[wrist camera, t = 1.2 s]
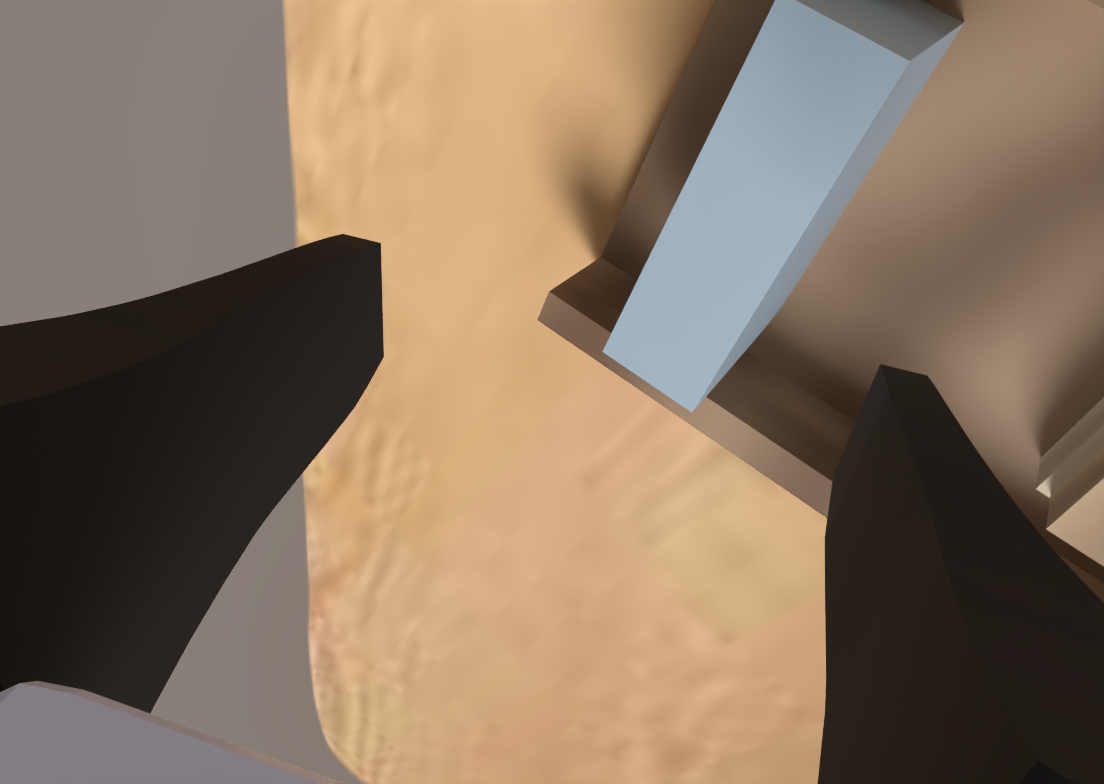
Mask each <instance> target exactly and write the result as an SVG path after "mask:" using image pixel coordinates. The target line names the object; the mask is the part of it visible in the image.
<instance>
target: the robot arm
mask: <svg viewBox="0 0 1104 784" xmlns="http://www.w3.org/2000/svg"><path fill="white" fill-rule="evenodd" d="M383 357H384V351H383V312H382V273H381V243H378V242H374V241H370V240H366V239H361V238H357V237H353V236H349V235H345V234H341V235H337V236H333V237H329V238H325V239H322V240H318V241H315V242H312V243H309V244H306V245H303V246H300V247H297V248H294V249H292V250H289V251H286V252H283V253H280V254H277V255H275V256H272V257H269V258H266V259H263V260H261V261H258V262H255V263H252V264H249V265H247V266H244V267H241V268H238V269H235V270H232V271H229V272H226V273H224V274H221V275H218V276H214V277H211V278H208V279H205V280H202V281H198V282H195V283H192V284H189V285H186V286H183V287H179V288H176V289H173V290H170V291H167V292H163V293H160V294H157V295H153V296H150V297H146V298H142V299H139V300H135V301H131V302H127V303H123V304H119V305H114V306H110V307H106V308H101V309H97V310H92V311H88V312H83V313H78V314H73V315H68V316H63V317H57V318H50V319H44V320H38V321H32V322H25V323H19V324H13V325H7V326H0V784H343V783H341V782H338V781H335V780H332V779H330V778H327V777H324V776H322V775H319V774H316V773H313V772H310V771H308V770H305V769H302V768H299V767H297V766H294V765H291V764H288V763H285V762H283V761H280V760H277V759H274V758H272V757H269V756H266V755H263V754H261V753H257V752H255V751H252V750H249V749H247V748H244V747H241V746H238V745H236V744H233V743H230V742H227V741H224V740H222V739H219V738H216V737H213V736H211V735H208V734H205V733H202V732H199V731H197V730H194V729H191V728H188V727H186V726H183V725H180V724H177V723H175V722H172V721H169V720H166V719H164V718H161V717H158V716H155V715H152V714H150V713H151V711H152V709H153V707H154V705H155V703H156V701H157V699H158V698H159V696H160V694H161V692H162V690H163V688H164V687H165V685H166V683H167V681H168V679H169V678H170V675H171V674H172V672H173V670H174V668H175V666H176V665H177V663H178V661H179V659H180V657H181V655H182V654H183V652H184V650H185V648H186V646H187V645H188V643H189V641H190V639H191V638H192V636H193V634H194V632H195V631H196V629H197V627H198V626H199V624H200V622H201V621H202V619H203V617H204V616H205V614H206V612H207V611H208V609H209V607H210V606H211V604H212V602H213V600H214V599H215V597H216V595H217V594H218V592H219V590H220V588H221V587H222V585H223V584H224V582H225V580H226V579H227V577H228V576H229V574H230V573H231V571H232V569H233V568H234V566H235V564H236V563H237V561H238V560H239V558H240V557H241V555H242V554H243V552H244V550H245V549H246V547H247V546H248V544H249V543H250V541H251V539H252V538H253V536H254V535H255V533H256V532H257V530H258V529H259V528H260V526H261V525H262V524H263V522H264V521H265V519H266V518H267V517H268V515H269V514H270V513H271V511H272V510H273V509H274V507H275V506H276V505H277V504H278V502H279V501H280V500H281V499H282V498H283V496H284V495H285V494H286V493H287V491H288V490H289V489H290V488H291V486H292V485H293V484H294V483H295V481H296V480H297V479H298V478H299V477H300V475H301V474H302V473H303V472H304V470H305V469H306V468H307V467H308V465H309V464H310V463H311V462H312V460H313V459H314V458H315V457H316V456H317V454H318V453H319V452H320V451H321V449H322V448H323V447H324V446H325V444H326V443H327V442H328V441H329V439H330V438H331V437H332V436H333V434H334V433H335V432H336V431H337V429H338V428H339V427H340V425H341V424H342V423H343V422H344V420H345V419H346V418H347V417H348V415H349V414H350V413H351V411H352V410H353V409H354V407H355V406H356V404H357V402H358V401H359V399H360V398H361V396H362V394H363V393H364V391H365V389H366V388H367V386H368V384H369V382H370V381H371V379H372V377H373V375H374V373H375V372H376V370H377V368H378V366H379V364H380V363H381V361H382V359H383ZM825 613H826V702H825V718H824V728H823V737H822V747H821V757H820V767H819V777H818V784H1104V603H1103V602H1102V601H1101V600H1100V599H1099V598H1098V596H1097V595H1096V594H1095V593H1094V592H1093V591H1092V590H1091V589H1090V588H1089V587H1088V586H1087V585H1086V584H1085V583H1084V582H1083V581H1082V580H1081V579H1080V578H1079V577H1078V575H1077V574H1076V573H1075V572H1074V571H1073V570H1072V569H1071V568H1070V567H1069V566H1068V565H1067V564H1066V563H1065V562H1064V561H1063V560H1062V559H1061V557H1060V556H1059V555H1058V554H1057V553H1056V552H1055V551H1054V550H1053V548H1052V547H1051V546H1050V545H1049V544H1048V543H1047V542H1046V540H1045V539H1044V538H1043V537H1042V536H1041V534H1040V533H1039V532H1038V531H1037V529H1036V528H1035V527H1034V526H1033V524H1032V523H1031V522H1030V521H1029V520H1028V518H1027V517H1026V516H1025V515H1024V513H1023V512H1022V511H1021V510H1020V508H1019V507H1018V506H1017V505H1016V503H1015V502H1014V501H1013V500H1012V498H1011V497H1010V496H1009V494H1008V493H1007V492H1006V490H1005V489H1004V488H1003V486H1002V485H1001V484H1000V482H999V481H998V479H997V478H996V477H995V475H994V474H993V473H992V471H991V470H990V468H989V467H988V465H987V464H986V463H985V461H984V460H983V458H982V457H981V455H980V454H979V453H978V451H977V450H976V448H975V447H974V445H973V444H972V442H971V441H970V439H969V438H968V436H967V435H966V433H965V432H964V430H963V429H962V427H961V426H960V424H959V422H958V421H957V419H956V418H955V416H954V415H953V413H952V412H951V410H950V409H949V407H948V405H947V404H946V402H945V401H944V399H943V398H942V396H941V395H940V393H939V391H938V390H937V388H936V387H935V385H934V384H933V382H932V381H931V380H930V378H929V377H928V375H924V374H920V373H915V372H911V371H907V370H903V369H899V368H895V367H891V366H886V365H882V364H880V365H879V368H878V370H877V373H876V375H875V377H874V380H873V382H872V385H871V387H870V389H869V392H868V394H867V397H866V399H865V401H864V404H863V406H862V409H861V411H860V413H859V416H858V418H857V421H856V423H855V425H854V428H853V430H852V433H851V435H850V437H849V440H848V442H847V445H846V447H845V449H844V452H843V454H842V456H841V459H840V461H839V464H838V466H837V468H836V471H835V473H834V476H833V481H832V488H831V495H830V503H829V510H828V518H827V526H826V534H825Z"/></svg>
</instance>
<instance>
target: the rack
mask: <svg viewBox="0 0 1104 784" xmlns="http://www.w3.org/2000/svg"><path fill="white" fill-rule="evenodd" d="M922 1H924V2H926V3H928V4H930V5H932V6H934V7H936V8H938V9H939V10H941V11H943V12H945V13H947V14H949V15H951V16H953V17H955V18H957V19H959V20H961V21H963V22H964V24H963V25H962V27H961V29H960V30H959V32H958V33H957V35H956V36H955V38H954V39H953V41H952V43H951V44H950V46H949V47H948V49H947V50H946V52H945V53H944V55H943V57H942V58H941V60H940V61H939V63H938V64H937V66H936V68H935V69H934V71H933V72H932V74H931V75H930V77H929V78H928V80H927V82H926V83H925V85H924V86H923V88H922V89H921V91H920V92H919V94H918V96H917V97H916V99H915V100H914V102H913V103H912V105H911V106H910V108H909V110H908V111H907V113H906V114H905V116H904V117H903V119H902V120H901V122H900V124H899V125H898V127H897V128H896V130H895V131H894V133H893V134H892V136H891V138H890V139H889V141H888V142H887V144H886V145H885V147H884V149H883V150H882V152H881V153H880V155H879V156H878V158H877V159H876V161H875V163H874V164H873V166H872V167H871V169H870V170H869V172H868V173H867V175H866V177H865V178H864V180H863V181H862V183H861V184H860V186H859V187H858V189H857V191H856V192H855V194H854V195H853V197H852V198H851V200H850V201H849V203H848V205H847V206H846V208H845V209H844V211H843V212H842V214H841V215H840V217H839V219H838V220H837V222H836V223H835V225H834V226H833V228H832V230H831V231H830V233H829V234H828V236H827V237H826V239H825V240H824V242H823V244H822V245H821V247H820V248H819V250H818V251H817V253H816V254H815V256H814V258H813V259H812V261H811V262H810V264H809V265H808V267H807V268H806V270H805V272H804V273H803V275H802V276H801V278H800V279H799V281H798V282H797V284H796V286H795V287H794V289H793V290H792V292H791V293H790V295H789V296H788V298H787V300H786V301H785V303H784V304H783V306H782V307H781V309H780V311H779V312H778V314H777V315H776V316H775V317H774V318H773V319H772V321H771V322H770V323H769V324H768V325H767V326H766V328H765V329H764V330H763V331H762V332H761V333H760V335H759V336H758V337H757V338H756V339H755V340H754V341H753V343H752V344H751V345H750V346H749V347H748V348H747V350H746V351H745V352H744V353H743V354H742V355H741V357H740V358H739V359H738V360H737V361H736V362H735V364H734V365H733V366H732V367H731V368H730V369H729V371H728V372H727V373H726V374H725V375H724V376H723V378H722V379H721V380H720V381H719V382H718V383H717V384H716V386H715V387H714V388H713V389H712V390H711V391H710V393H709V394H708V395H707V396H706V397H705V398H704V400H703V401H702V402H701V403H700V404H699V405H698V407H697V408H696V409H695V410H694V411H693V412H690V411H689V410H687V409H686V408H684V407H683V406H682V405H680V404H679V403H677V402H676V401H674V400H673V399H671V398H670V397H668V396H667V395H665V394H664V393H662V392H661V391H659V390H658V389H656V388H655V387H654V386H652V385H651V384H649V383H648V382H646V381H645V380H643V379H642V378H640V377H639V376H637V375H636V374H634V373H633V372H631V371H630V370H629V369H627V368H626V367H624V366H623V365H621V364H620V363H618V362H617V361H615V360H614V359H612V358H611V357H609V356H608V355H606V354H605V353H603V350H604V348H605V345H606V343H607V341H608V339H609V337H610V335H611V333H612V331H613V329H614V327H615V325H616V323H617V321H618V319H619V317H620V315H621V313H622V311H623V309H624V307H625V305H626V303H627V301H628V299H629V297H630V295H631V293H632V291H633V288H634V286H635V284H636V282H637V280H638V278H639V276H640V274H641V272H642V270H643V268H644V266H645V264H646V262H647V260H648V258H649V256H650V254H651V252H652V250H653V248H654V246H655V244H656V242H657V240H658V238H659V236H660V234H661V232H662V229H663V227H664V225H665V223H666V221H667V219H668V217H669V215H670V213H671V211H672V209H673V207H674V205H675V203H676V201H677V199H678V197H679V195H680V193H681V191H682V189H683V187H684V185H685V183H686V181H687V179H688V177H689V175H690V172H691V170H692V168H693V166H694V164H695V162H696V160H697V158H698V156H699V154H700V152H701V150H702V148H703V146H704V144H705V142H706V140H707V138H708V136H709V134H710V132H711V130H712V128H713V126H714V124H715V122H716V120H717V118H718V115H719V113H720V111H721V109H722V107H723V105H724V103H725V101H726V99H727V97H728V95H729V93H730V91H731V89H732V87H733V85H734V83H735V81H736V79H737V77H738V75H739V73H740V71H741V69H742V67H743V65H744V63H745V61H746V59H747V56H748V54H749V52H750V50H751V48H752V46H753V44H754V42H755V40H756V38H757V36H758V34H759V32H760V30H761V28H762V26H763V24H764V22H765V20H766V18H767V16H768V14H769V12H770V10H771V8H772V6H773V4H774V2H775V0H716V2H715V4H714V6H713V8H712V11H711V13H710V15H709V17H708V19H707V22H706V24H705V26H704V28H703V31H702V33H701V35H700V37H699V40H698V42H697V44H696V46H695V49H694V51H693V53H692V55H691V57H690V60H689V62H688V64H687V66H686V69H685V71H684V73H683V75H682V78H681V80H680V82H679V84H678V86H677V89H676V91H675V93H674V95H673V98H672V100H671V102H670V104H669V107H668V109H667V111H666V113H665V116H664V118H663V120H662V122H661V124H660V127H659V129H658V131H657V133H656V136H655V138H654V140H653V142H652V145H651V147H650V149H649V151H648V153H647V156H646V158H645V160H644V162H643V165H642V167H641V169H640V171H639V174H638V176H637V178H636V180H635V183H634V185H633V187H632V189H631V191H630V194H629V196H628V198H627V200H626V203H625V205H624V207H623V209H622V212H621V214H620V216H619V218H618V221H617V223H616V225H615V227H614V229H613V232H612V234H611V236H610V238H609V241H608V243H607V245H606V247H605V250H604V252H603V254H602V256H601V257H600V258H599V259H597V260H596V261H594V262H593V263H591V264H590V265H588V266H587V267H585V268H584V269H582V270H581V271H579V272H578V273H576V274H575V275H573V276H572V277H570V278H569V279H567V280H566V281H564V282H563V283H561V284H560V285H558V286H557V287H555V288H554V289H552V290H551V291H549V293H548V296H547V298H546V300H545V303H544V305H543V308H542V310H541V313H540V315H539V317H538V321H540V322H541V323H543V324H544V325H545V326H547V327H548V328H550V329H551V330H553V331H554V332H556V333H557V334H559V335H560V336H562V337H563V338H564V339H566V340H567V341H569V342H570V343H572V344H573V345H575V346H576V347H578V348H579V349H581V350H582V351H583V352H585V353H586V354H588V355H589V356H591V357H592V358H594V359H595V360H597V361H598V362H600V363H601V364H603V365H604V366H605V367H607V368H608V369H610V370H611V371H613V372H614V373H616V374H617V375H619V376H620V377H622V378H623V379H624V380H626V381H627V382H629V383H630V384H632V385H633V386H635V387H636V388H638V389H639V390H641V391H642V392H644V393H645V394H646V395H648V396H649V397H651V398H652V399H654V400H655V401H657V402H658V403H660V404H661V405H663V406H664V407H665V408H667V409H668V410H670V411H671V412H673V413H674V414H676V415H677V416H679V417H680V418H682V419H683V420H684V421H686V422H687V423H689V424H690V425H692V426H693V427H695V428H696V429H698V430H699V431H701V432H702V433H704V434H705V435H706V436H708V437H709V438H711V439H712V440H714V441H715V442H717V443H718V444H720V445H721V446H723V447H724V448H725V449H727V450H728V451H730V452H731V453H733V454H734V455H736V456H737V457H739V458H740V459H742V460H743V461H744V462H746V463H747V464H749V465H750V466H752V467H753V468H755V469H756V470H758V471H759V472H761V473H762V474H764V475H765V476H766V477H768V478H769V479H771V480H772V481H774V482H775V483H777V484H778V485H780V486H781V487H783V488H784V489H785V490H787V491H788V492H790V493H791V494H793V495H794V496H796V497H797V498H799V499H800V500H802V501H803V502H804V503H806V504H807V505H809V506H810V507H812V508H813V509H815V510H816V511H818V512H819V513H821V514H822V515H824V516H825V517H826V518H828V510H829V503H830V495H831V488H832V481H833V476H834V473H835V471H836V468H837V466H838V464H839V461H840V459H841V456H842V454H843V452H844V449H845V447H846V445H847V442H848V440H849V437H850V435H851V433H852V430H853V428H854V425H855V423H856V421H857V418H858V416H859V413H860V411H861V409H862V406H863V404H864V401H865V399H866V397H867V394H868V392H869V389H870V387H871V385H872V382H873V380H874V377H875V375H876V373H877V370H878V368H879V365H880V364H882V365H886V366H891V367H895V368H899V369H903V370H907V371H911V372H915V373H920V374H924V375H928V377H929V378H930V380H931V381H932V382H933V384H934V385H935V387H936V388H937V390H938V391H939V393H940V395H941V396H942V398H943V399H944V401H945V402H946V404H947V405H948V407H949V409H950V410H951V412H952V413H953V415H954V416H955V418H956V419H957V421H958V422H959V424H960V426H961V427H962V429H963V430H964V432H965V433H966V435H967V436H968V438H969V439H970V441H971V442H972V444H973V445H974V447H975V448H976V450H977V451H978V453H979V454H980V455H981V457H982V458H983V460H984V461H985V463H986V464H987V465H988V467H989V468H990V470H991V471H992V473H993V474H994V475H995V477H996V478H997V479H998V481H999V482H1000V484H1001V485H1002V486H1003V488H1004V489H1005V490H1006V492H1007V493H1008V494H1009V496H1010V497H1011V498H1012V500H1013V501H1014V502H1015V503H1016V505H1017V506H1018V507H1019V508H1020V510H1021V511H1022V512H1023V513H1024V515H1025V516H1026V517H1027V518H1028V520H1029V521H1030V522H1031V523H1032V524H1033V526H1034V527H1035V528H1036V529H1037V531H1038V532H1039V533H1040V534H1041V536H1042V537H1043V538H1044V539H1045V540H1046V542H1047V543H1048V544H1049V545H1050V546H1051V547H1052V548H1053V550H1054V551H1055V552H1056V553H1057V554H1058V555H1059V556H1060V557H1061V559H1062V560H1063V561H1064V562H1065V563H1066V564H1067V565H1068V566H1069V567H1070V568H1071V569H1072V570H1073V571H1074V572H1075V573H1076V574H1077V575H1078V577H1079V578H1080V579H1081V580H1082V581H1083V582H1084V583H1085V584H1086V585H1087V586H1088V587H1089V588H1090V589H1091V590H1092V591H1093V592H1094V593H1095V594H1096V595H1097V596H1098V598H1099V599H1100V600H1101V601H1102V602H1103V603H1104V566H1102V565H1101V564H1099V563H1098V562H1096V561H1094V560H1093V559H1091V558H1090V557H1088V556H1087V555H1085V554H1084V553H1082V552H1080V551H1079V550H1077V549H1076V548H1074V547H1073V546H1071V545H1070V544H1068V543H1067V542H1065V541H1063V540H1062V539H1060V538H1059V537H1057V536H1056V535H1054V534H1053V533H1051V532H1049V531H1048V530H1046V525H1047V517H1048V510H1049V502H1050V498H1049V497H1048V496H1046V495H1044V494H1043V493H1041V492H1040V491H1038V490H1037V489H1036V484H1037V478H1038V471H1039V465H1040V459H1041V457H1042V456H1043V455H1044V454H1045V453H1046V452H1047V451H1048V450H1049V449H1050V448H1051V447H1052V446H1053V445H1054V444H1055V443H1057V442H1058V441H1059V440H1060V439H1061V438H1062V437H1063V436H1064V435H1065V434H1066V433H1067V432H1068V431H1069V430H1070V429H1071V428H1072V427H1073V426H1074V425H1075V424H1076V423H1077V422H1078V421H1079V420H1080V419H1081V418H1083V417H1084V416H1085V415H1086V414H1087V413H1088V412H1089V411H1090V410H1091V409H1092V408H1093V407H1094V406H1095V405H1096V404H1097V403H1098V402H1099V401H1100V400H1101V399H1102V398H1103V397H1104V0H922Z"/></svg>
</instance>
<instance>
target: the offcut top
mask: <svg viewBox="0 0 1104 784" xmlns="http://www.w3.org/2000/svg"><path fill="white" fill-rule="evenodd" d="M1046 530H1048V531H1049V532H1051V533H1053V534H1054V535H1056V536H1057V537H1059V538H1060V539H1062V540H1063V541H1065V542H1067V543H1068V544H1070V545H1071V546H1073V547H1074V548H1076V549H1077V550H1079V551H1080V552H1082V553H1084V554H1085V555H1087V556H1088V557H1090V558H1091V559H1093V560H1094V561H1096V562H1098V563H1099V564H1101V565H1102V566H1104V445H1103V446H1102V447H1101V448H1100V449H1099V450H1098V451H1097V452H1096V453H1095V454H1094V455H1093V456H1091V457H1090V458H1089V459H1088V460H1087V461H1086V462H1085V463H1084V464H1083V465H1082V466H1080V467H1079V468H1078V469H1077V470H1076V471H1075V472H1074V473H1073V474H1072V475H1071V476H1070V477H1068V478H1067V479H1066V480H1065V481H1064V482H1063V483H1062V484H1061V485H1060V486H1059V487H1057V488H1056V489H1055V490H1054V491H1053V492H1052V493H1051V494H1050V502H1049V510H1048V517H1047V525H1046Z"/></svg>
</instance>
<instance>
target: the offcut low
mask: <svg viewBox="0 0 1104 784" xmlns="http://www.w3.org/2000/svg"><path fill="white" fill-rule="evenodd" d="M1103 445H1104V397H1103V398H1102V399H1101V400H1100V401H1099V402H1098V403H1097V404H1096V405H1095V406H1094V407H1093V408H1092V409H1091V410H1090V411H1089V412H1088V413H1087V414H1086V415H1085V416H1084V417H1083V418H1081V419H1080V420H1079V421H1078V422H1077V423H1076V424H1075V425H1074V426H1073V427H1072V428H1071V429H1070V430H1069V431H1068V432H1067V433H1066V434H1065V435H1064V436H1063V437H1062V438H1061V439H1060V440H1059V441H1058V442H1057V443H1055V444H1054V445H1053V446H1052V447H1051V448H1050V449H1049V450H1048V451H1047V452H1046V453H1045V454H1044V455H1043V456H1042V457H1041V459H1040V465H1039V471H1038V478H1037V484H1036V489H1037V490H1038V491H1040V492H1041V493H1043V494H1044V495H1046V496H1048V497H1049V498H1050V494H1051V493H1052V492H1053V491H1054V490H1055V489H1056V488H1057V487H1059V486H1060V485H1061V484H1062V483H1063V482H1064V481H1065V480H1066V479H1067V478H1068V477H1070V476H1071V475H1072V474H1073V473H1074V472H1075V471H1076V470H1077V469H1078V468H1079V467H1080V466H1082V465H1083V464H1084V463H1085V462H1086V461H1087V460H1088V459H1089V458H1090V457H1091V456H1093V455H1094V454H1095V453H1096V452H1097V451H1098V450H1099V449H1100V448H1101V447H1102V446H1103Z"/></svg>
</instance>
